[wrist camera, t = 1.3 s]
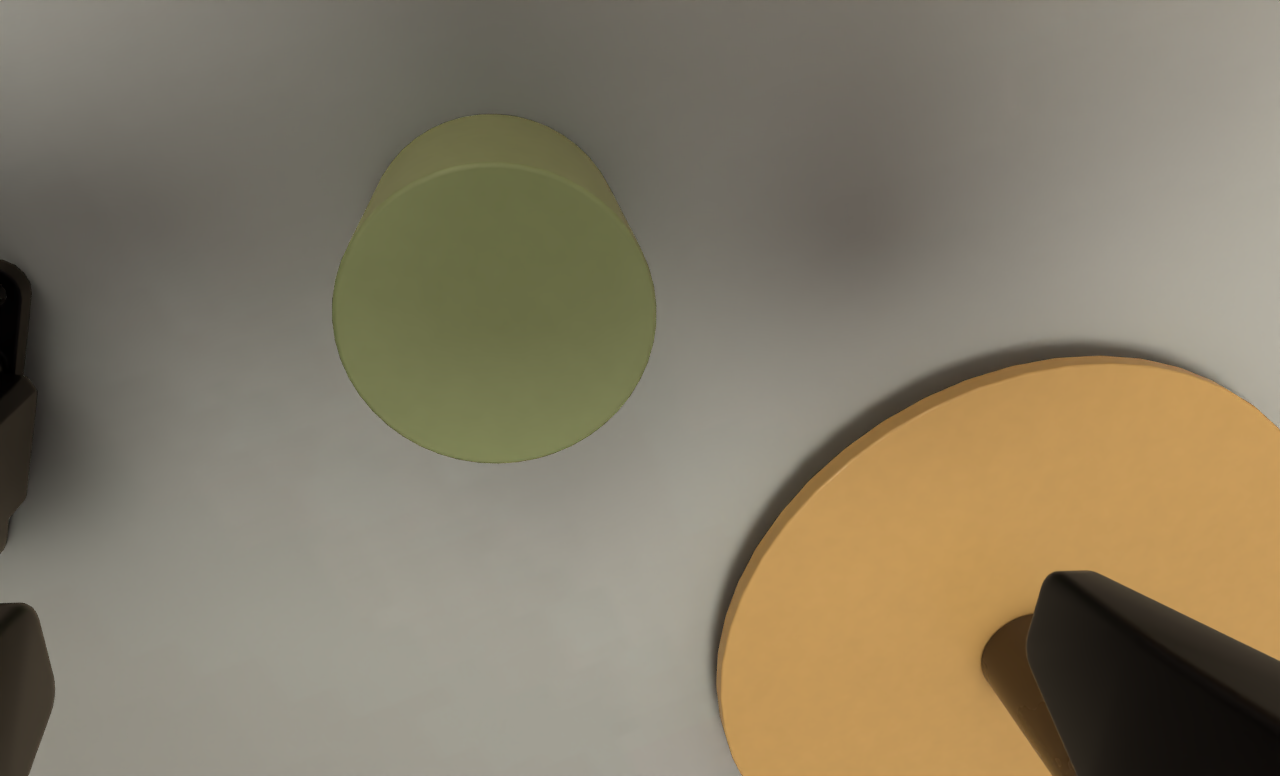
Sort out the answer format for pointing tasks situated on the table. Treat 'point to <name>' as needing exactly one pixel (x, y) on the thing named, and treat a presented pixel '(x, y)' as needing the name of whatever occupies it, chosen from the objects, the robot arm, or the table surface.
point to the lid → (991, 564)
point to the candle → (493, 294)
